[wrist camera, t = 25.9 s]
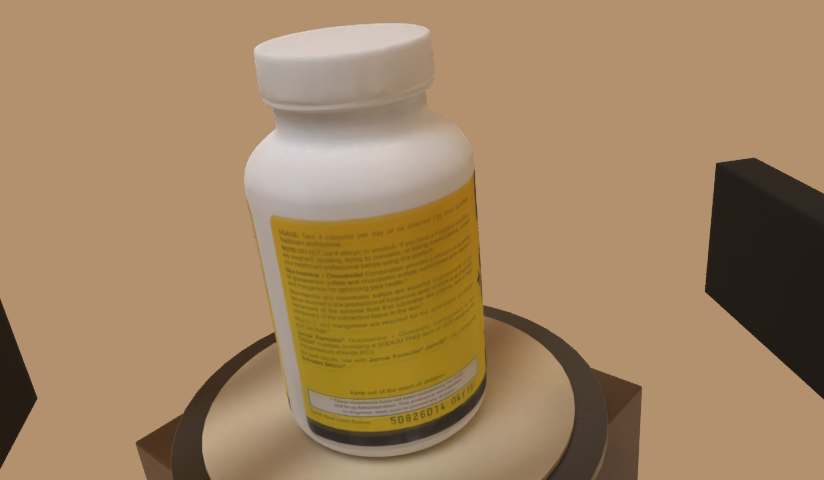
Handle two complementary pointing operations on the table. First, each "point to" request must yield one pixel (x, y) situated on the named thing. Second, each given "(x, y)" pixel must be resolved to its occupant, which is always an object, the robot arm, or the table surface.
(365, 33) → the pill bottle
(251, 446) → the tall brown block
